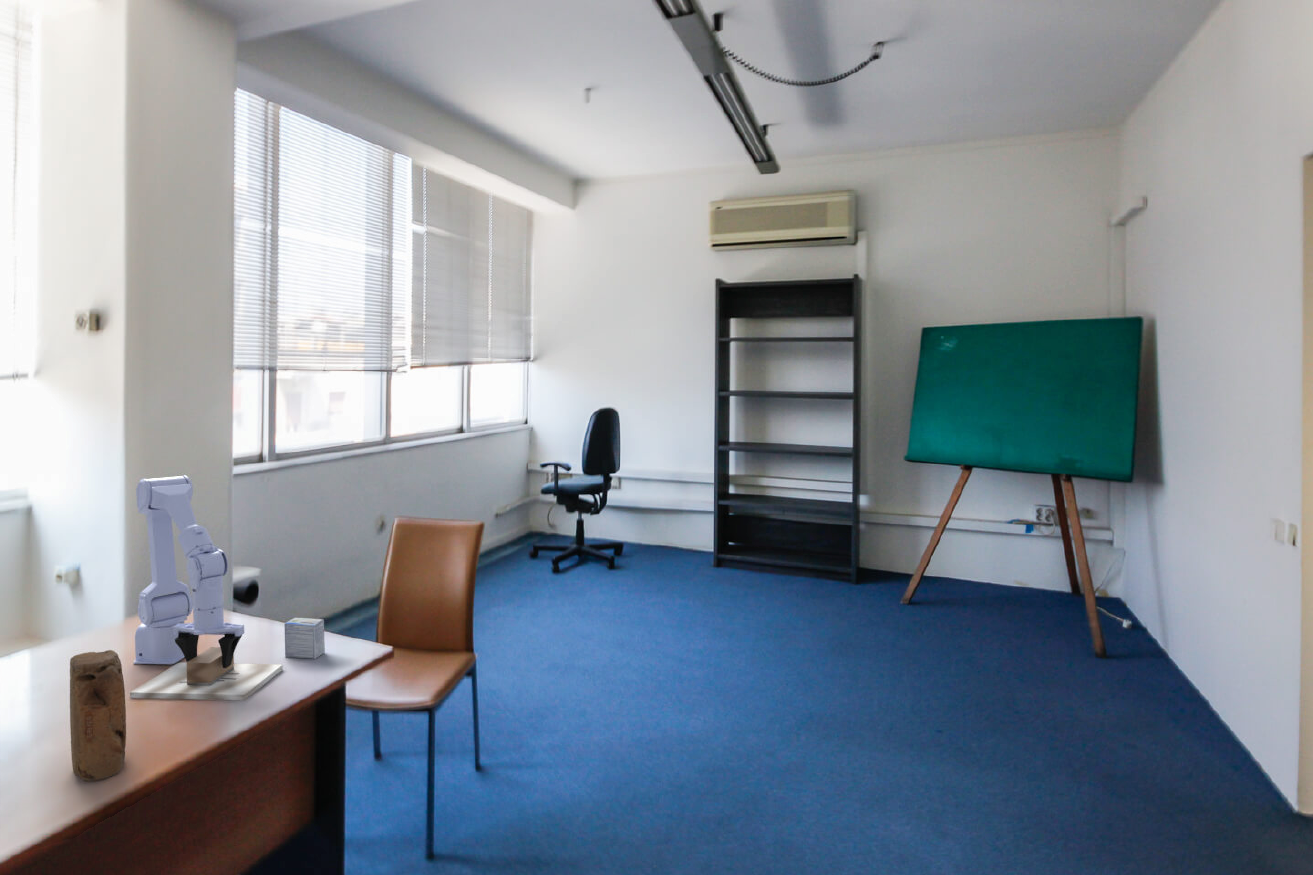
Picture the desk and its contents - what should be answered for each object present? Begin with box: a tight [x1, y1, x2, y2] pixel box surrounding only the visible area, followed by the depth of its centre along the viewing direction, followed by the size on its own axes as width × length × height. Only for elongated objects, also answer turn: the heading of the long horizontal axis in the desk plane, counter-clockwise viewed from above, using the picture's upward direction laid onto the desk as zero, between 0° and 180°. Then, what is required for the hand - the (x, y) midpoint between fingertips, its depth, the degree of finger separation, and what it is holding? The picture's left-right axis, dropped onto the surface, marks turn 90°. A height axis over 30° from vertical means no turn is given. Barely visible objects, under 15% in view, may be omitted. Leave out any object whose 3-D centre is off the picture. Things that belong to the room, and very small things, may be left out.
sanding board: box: [129, 661, 284, 701], centre depth 160 cm, size 24×16×1 cm, turn 91°
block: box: [69, 649, 127, 782], centre depth 125 cm, size 11×8×20 cm
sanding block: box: [186, 646, 235, 686], centre depth 161 cm, size 5×9×5 cm, turn 1°
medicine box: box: [284, 617, 326, 660], centre depth 177 cm, size 8×4×9 cm, turn 84°
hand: (209, 665), depth 160 cm, fingers open, 7 cm apart
